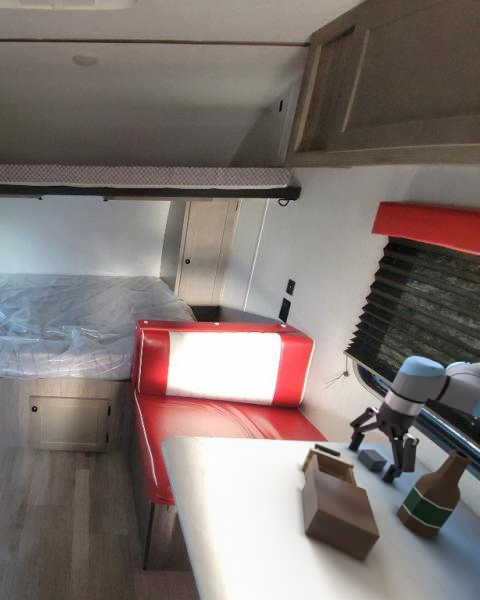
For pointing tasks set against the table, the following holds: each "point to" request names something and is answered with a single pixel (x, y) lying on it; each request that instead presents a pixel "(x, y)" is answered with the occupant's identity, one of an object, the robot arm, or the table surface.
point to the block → (372, 459)
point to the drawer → (328, 464)
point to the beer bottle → (434, 497)
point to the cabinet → (338, 515)
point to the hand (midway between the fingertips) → (368, 465)
